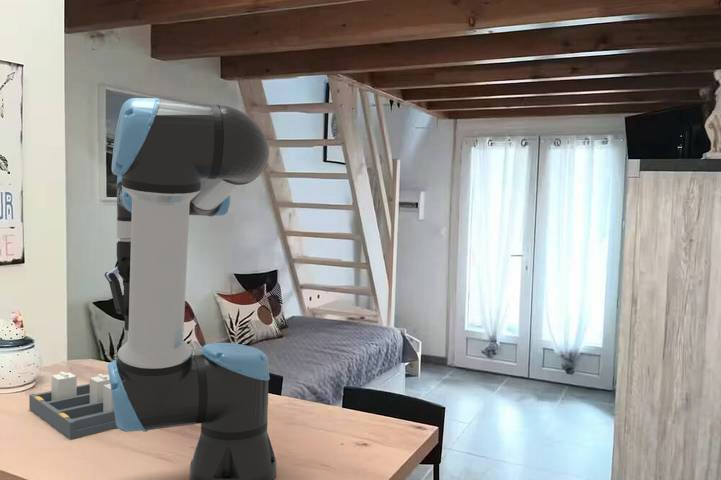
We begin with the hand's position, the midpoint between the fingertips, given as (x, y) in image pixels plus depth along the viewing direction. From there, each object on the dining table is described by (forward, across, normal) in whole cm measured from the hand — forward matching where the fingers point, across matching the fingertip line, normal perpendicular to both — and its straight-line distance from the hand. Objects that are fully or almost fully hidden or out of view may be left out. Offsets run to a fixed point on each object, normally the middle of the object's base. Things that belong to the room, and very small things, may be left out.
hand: (133, 344), depth 139 cm
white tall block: (+14, +5, -5) cm, 15 cm away
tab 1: (+14, +5, +2) cm, 15 cm away
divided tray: (+16, +9, -5) cm, 19 cm away
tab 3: (+14, +10, -12) cm, 21 cm away
